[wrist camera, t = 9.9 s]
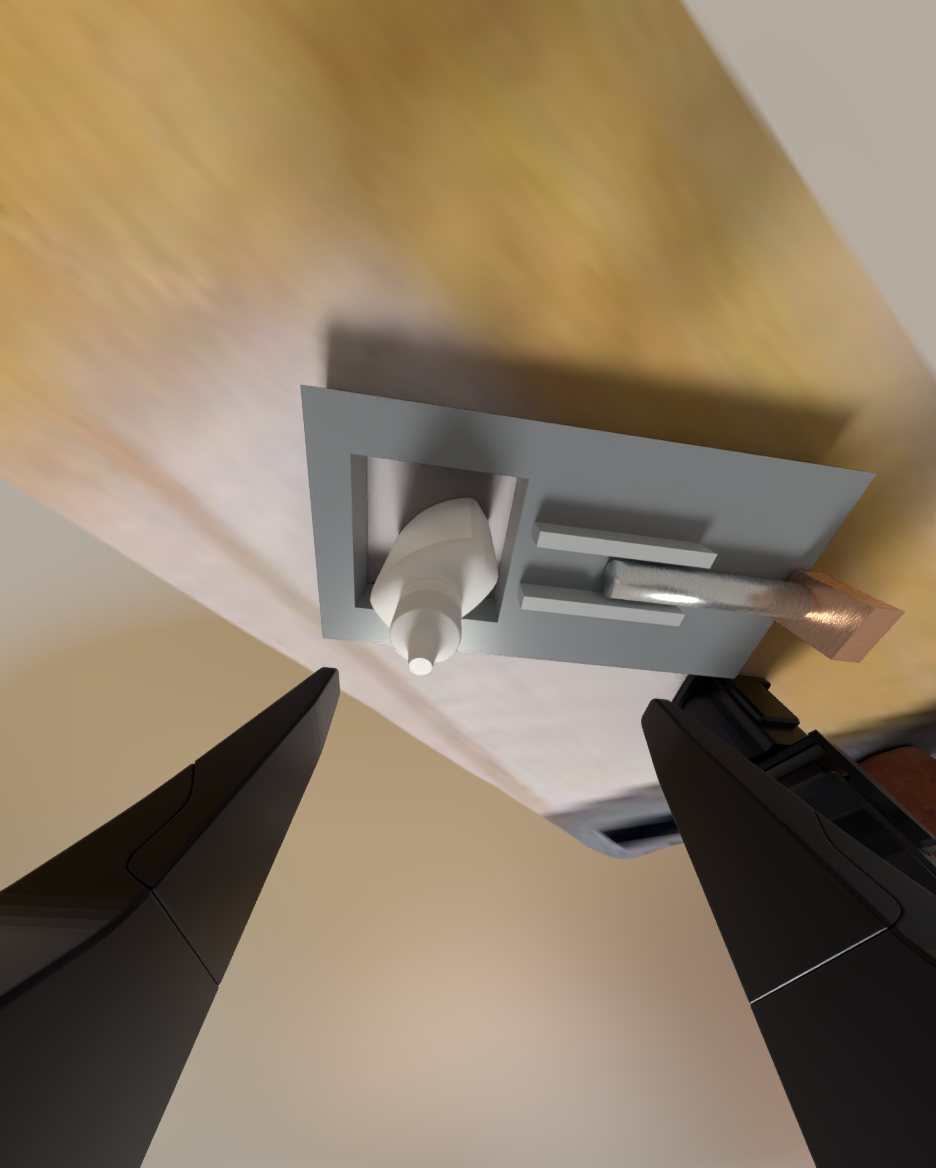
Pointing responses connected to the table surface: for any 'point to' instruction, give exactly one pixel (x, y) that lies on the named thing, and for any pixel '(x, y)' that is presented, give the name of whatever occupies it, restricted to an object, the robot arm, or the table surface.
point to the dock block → (575, 529)
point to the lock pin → (766, 602)
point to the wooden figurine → (908, 781)
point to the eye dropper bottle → (435, 581)
